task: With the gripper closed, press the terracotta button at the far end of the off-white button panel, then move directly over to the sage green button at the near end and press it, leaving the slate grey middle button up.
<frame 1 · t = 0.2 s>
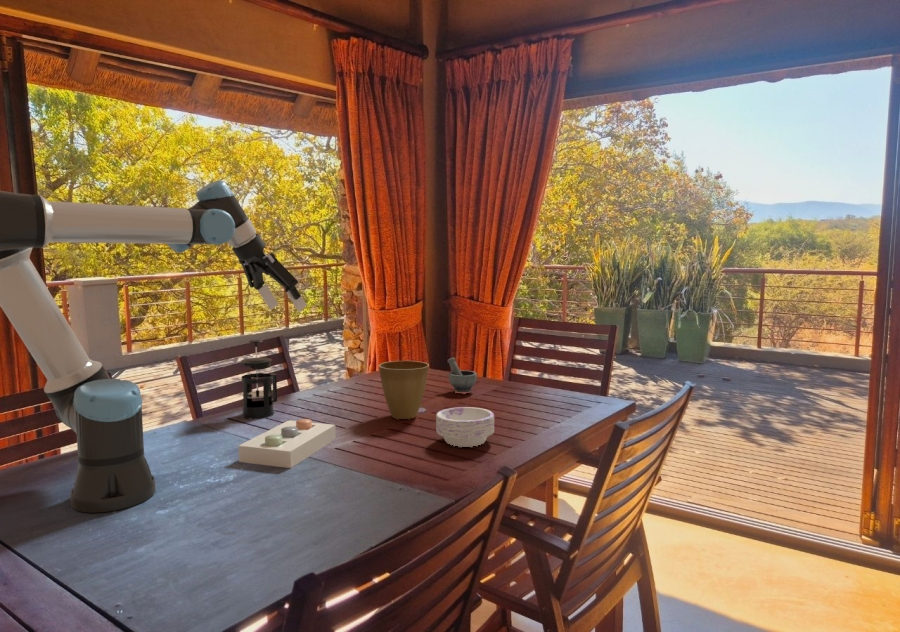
hand: (288, 307, 161), 35 cm above the table, tool tilted 35°, fingers open, 13 cm apart
button panel: (290, 450, 152), on the table
paper bowls: (464, 443, 158), on the table
sage button: (273, 445, 145), point 4 cm above the table, slide at 0.0 cm
grey button: (289, 436, 151), point 4 cm above the table, slide at 0.0 cm
plant pot: (404, 417, 182), on the table
terracotta button: (304, 428, 158), point 4 cm above the table, slide at 0.0 cm
mortar and pestle: (461, 392, 213), on the table
french press: (259, 414, 184), on the table
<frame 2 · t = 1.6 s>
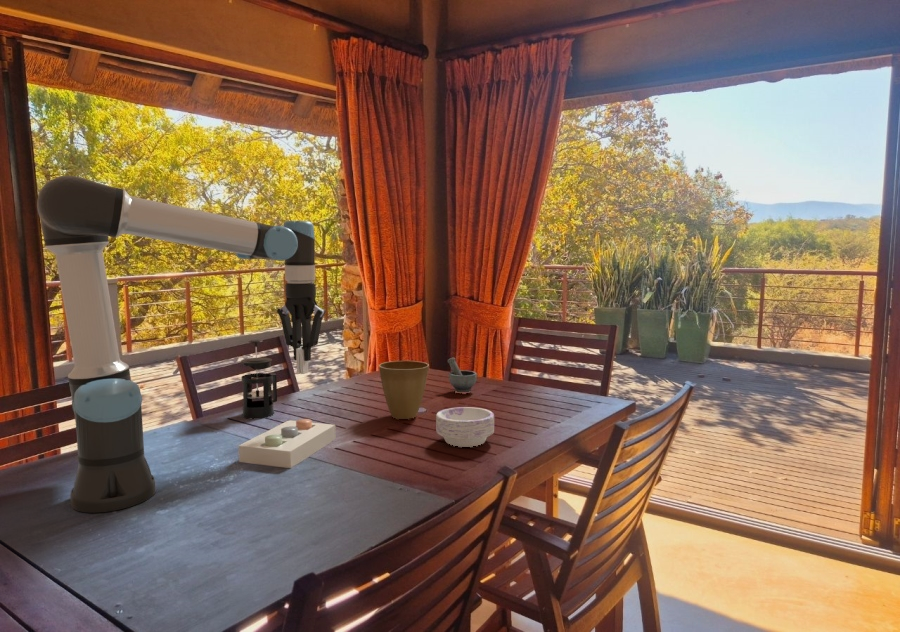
hand: (302, 372, 156), 18 cm above the table, tool pointing down, fingers closed
nothing on the table moved.
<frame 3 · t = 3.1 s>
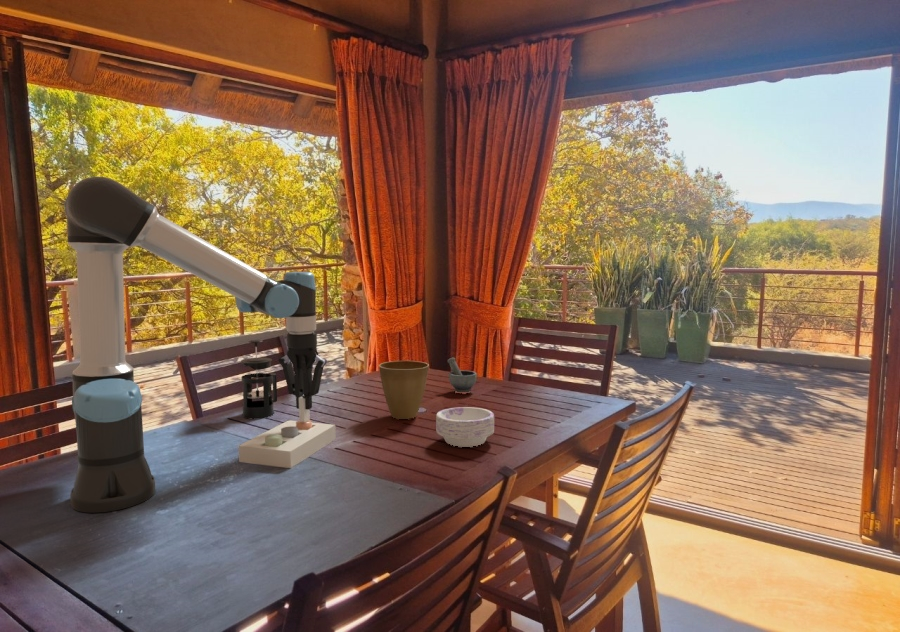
hand: (304, 420, 158), 6 cm above the table, tool pointing down, fingers closed
terracotta button: (304, 429, 158), point 3 cm above the table, slide at 0.2 cm, touching gripper
everything else where it was.
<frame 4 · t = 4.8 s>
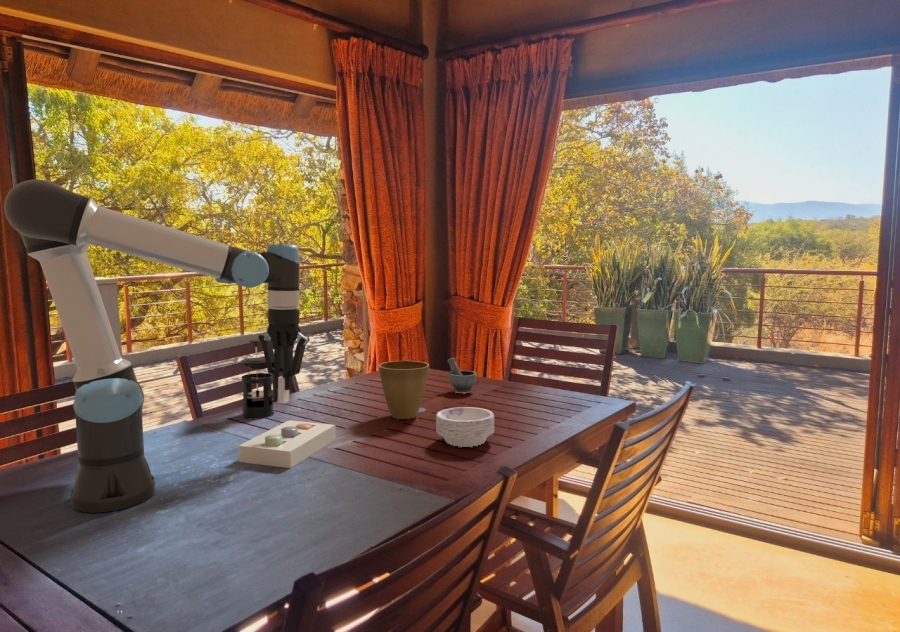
hand: (283, 402, 150), 13 cm above the table, tool pointing down, fingers closed
terracotta button: (304, 433, 158), point 2 cm above the table, slide at 1.2 cm
everything else where it was.
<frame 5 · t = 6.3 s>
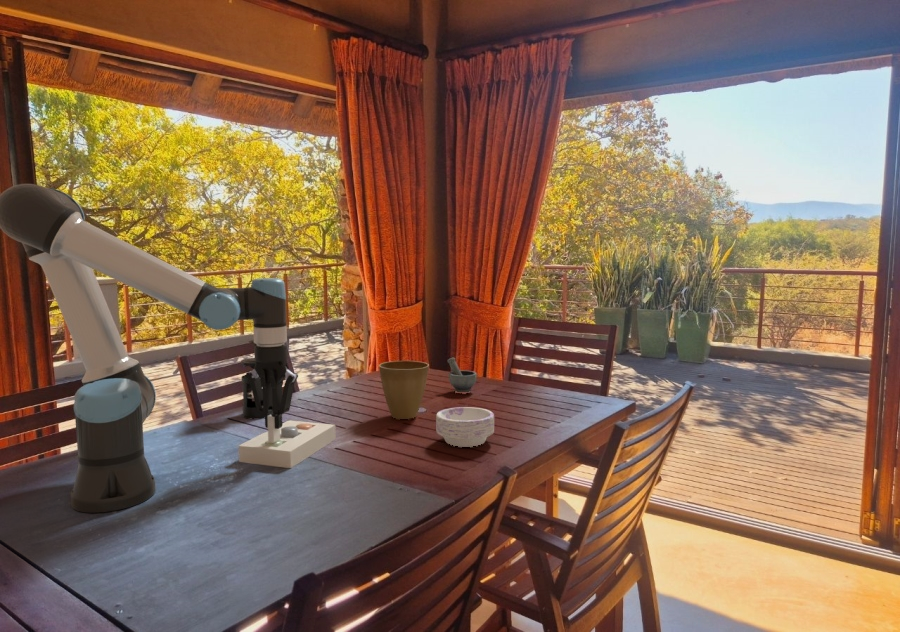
hand: (274, 440, 145), 5 cm above the table, tool pointing down, fingers closed
sage button: (274, 450, 145), point 2 cm above the table, slide at 1.2 cm, touching gripper
everything else where it was.
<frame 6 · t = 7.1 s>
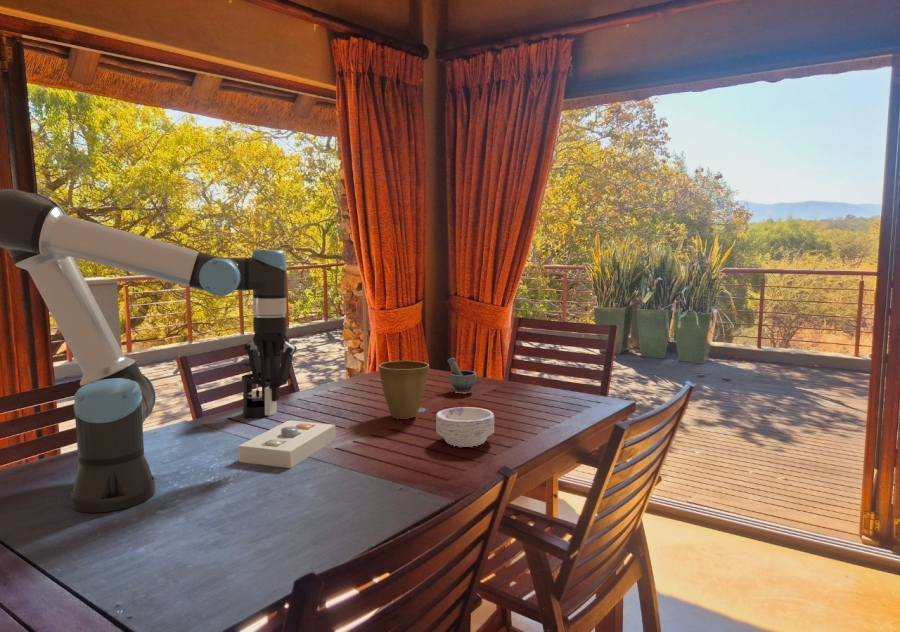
hand: (270, 413, 144), 11 cm above the table, tool pointing down, fingers closed
sage button: (274, 450, 145), point 2 cm above the table, slide at 1.2 cm
everything else where it was.
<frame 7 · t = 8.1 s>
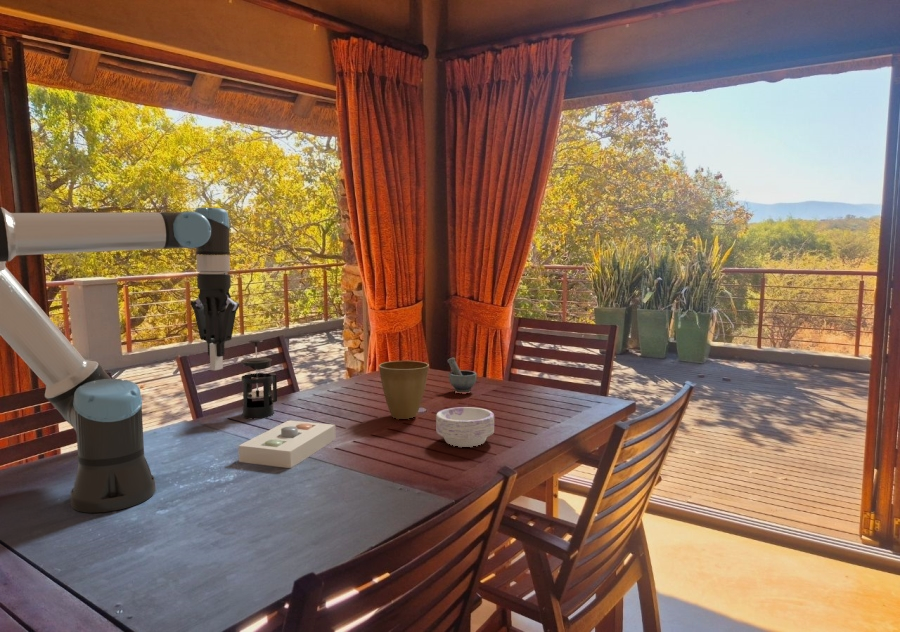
hand: (216, 369, 148), 21 cm above the table, tool pointing down, fingers closed
nothing on the table moved.
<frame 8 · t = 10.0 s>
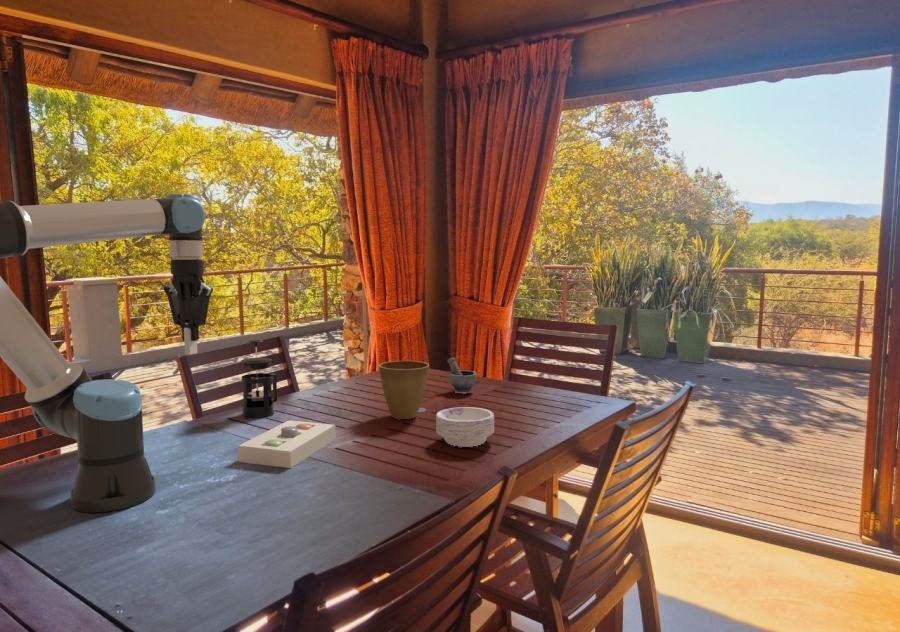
hand: (191, 353, 150), 24 cm above the table, tool pointing down, fingers closed
nothing on the table moved.
at the end: terracotta button slide at 1.2 cm; sage button slide at 1.2 cm; grey button slide at 0.0 cm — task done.
